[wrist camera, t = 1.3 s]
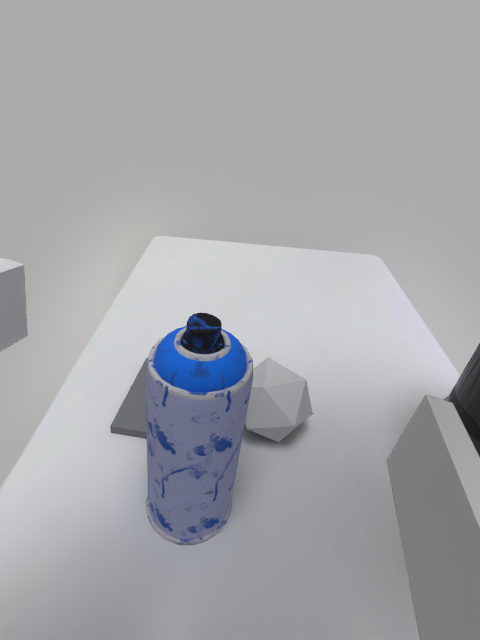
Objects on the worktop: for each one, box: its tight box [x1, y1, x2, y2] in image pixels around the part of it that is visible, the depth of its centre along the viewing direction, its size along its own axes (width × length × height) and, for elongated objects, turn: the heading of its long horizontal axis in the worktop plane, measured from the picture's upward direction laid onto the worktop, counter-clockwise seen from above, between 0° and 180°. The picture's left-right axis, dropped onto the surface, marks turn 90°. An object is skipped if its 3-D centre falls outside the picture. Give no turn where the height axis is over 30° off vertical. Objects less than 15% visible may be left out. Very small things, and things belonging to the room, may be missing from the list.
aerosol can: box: [145, 313, 254, 545], centre depth 28 cm, size 8×8×20 cm
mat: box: [110, 358, 148, 438], centre depth 43 cm, size 12×12×1 cm
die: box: [245, 358, 313, 443], centre depth 41 cm, size 8×9×10 cm
